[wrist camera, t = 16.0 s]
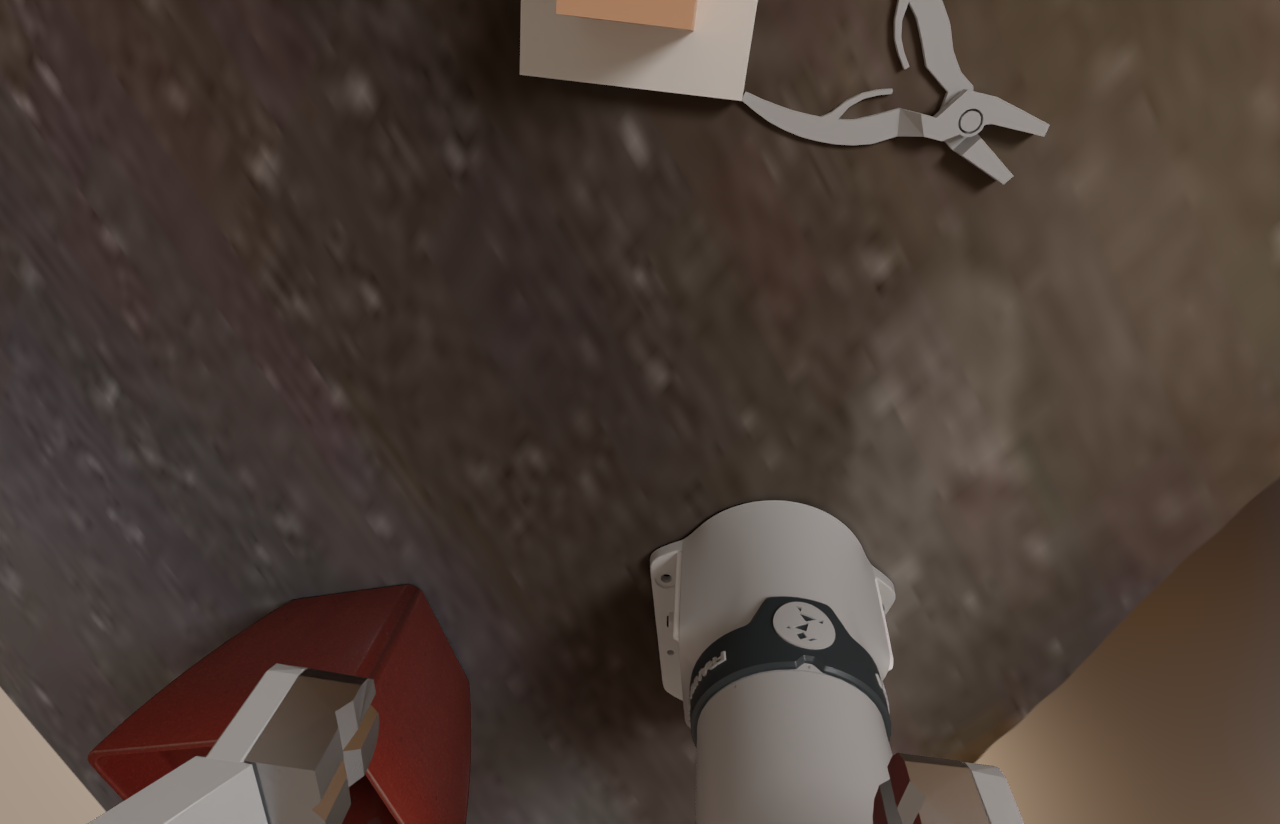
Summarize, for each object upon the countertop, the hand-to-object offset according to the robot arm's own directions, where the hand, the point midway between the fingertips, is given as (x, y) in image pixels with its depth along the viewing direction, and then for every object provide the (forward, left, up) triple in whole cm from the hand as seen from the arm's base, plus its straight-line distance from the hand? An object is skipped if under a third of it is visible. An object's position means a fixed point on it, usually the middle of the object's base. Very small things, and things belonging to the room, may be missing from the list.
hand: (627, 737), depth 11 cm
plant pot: (-40, +22, -35) cm, 58 cm away
